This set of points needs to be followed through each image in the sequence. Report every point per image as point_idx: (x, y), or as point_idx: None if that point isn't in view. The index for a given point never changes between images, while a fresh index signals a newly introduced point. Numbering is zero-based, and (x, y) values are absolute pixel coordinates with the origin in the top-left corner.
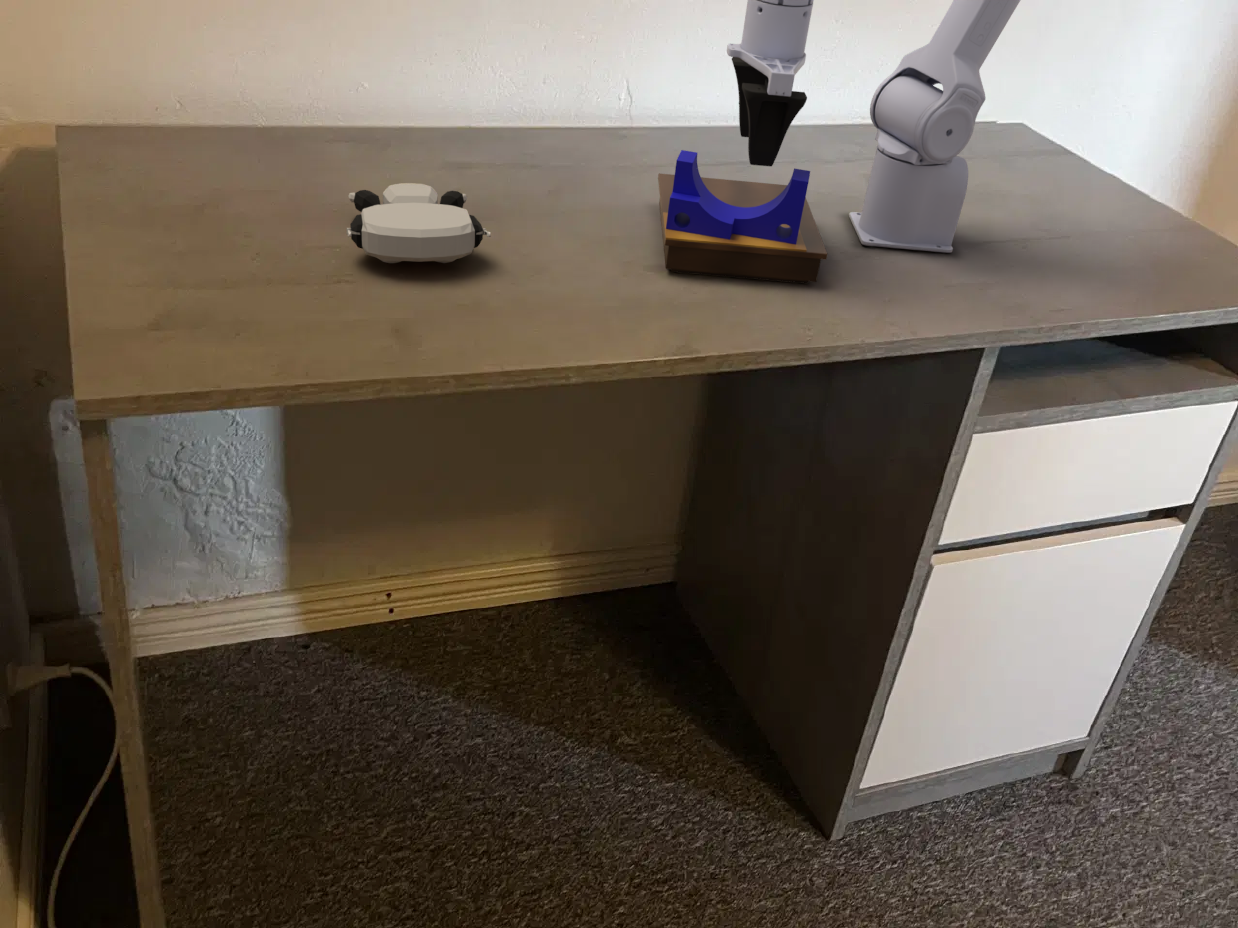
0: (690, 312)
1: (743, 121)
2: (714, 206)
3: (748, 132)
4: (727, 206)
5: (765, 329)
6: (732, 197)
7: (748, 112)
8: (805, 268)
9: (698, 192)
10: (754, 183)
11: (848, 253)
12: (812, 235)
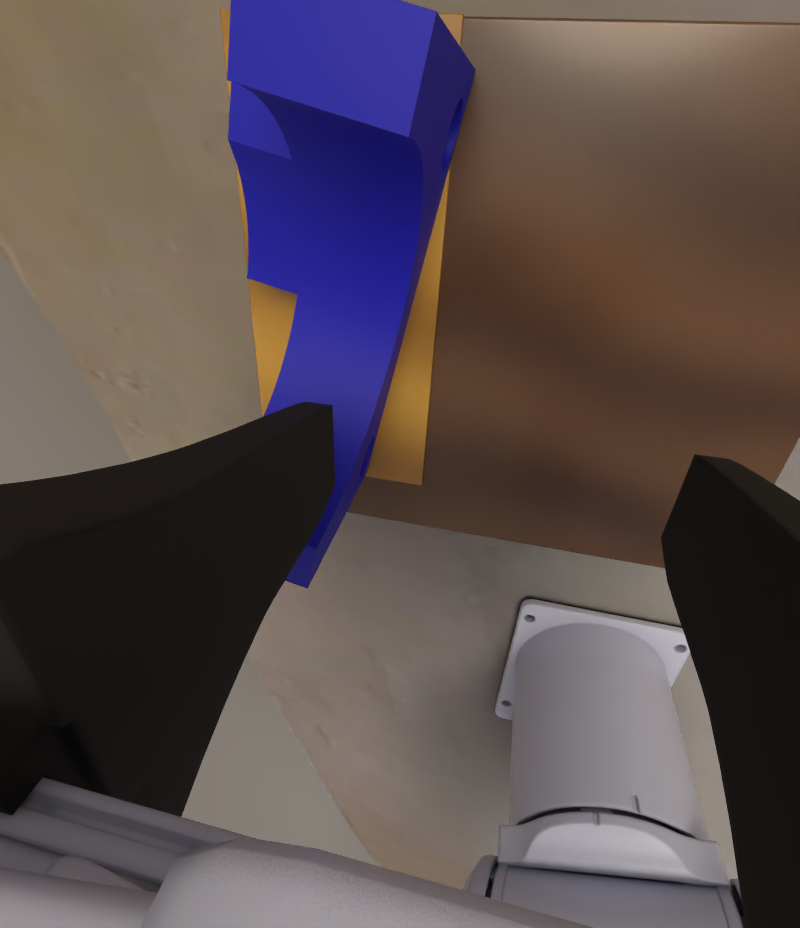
0: (103, 119)
1: (720, 498)
2: (332, 229)
3: (689, 496)
4: (382, 288)
5: (100, 298)
6: (641, 351)
7: (123, 484)
8: None
9: (291, 146)
10: (774, 456)
11: (491, 561)
12: (370, 499)
